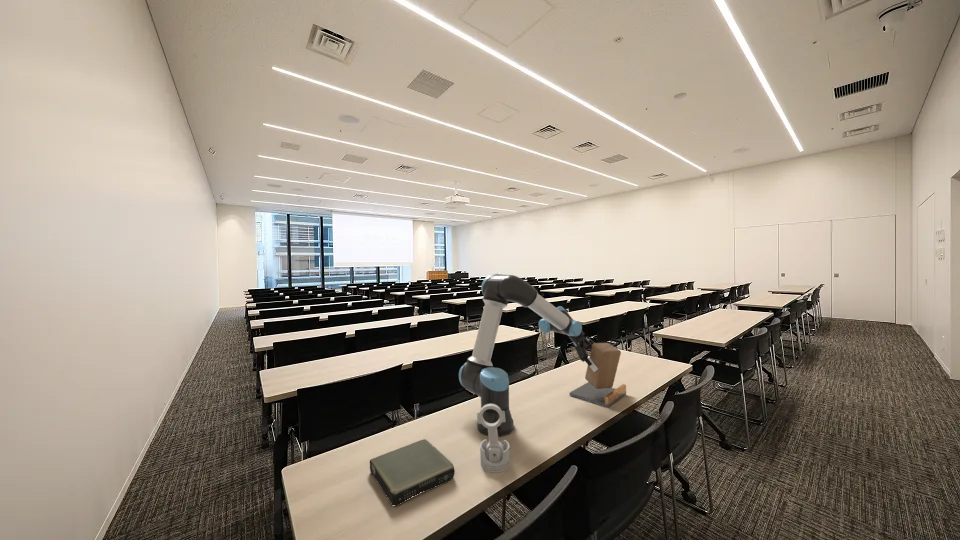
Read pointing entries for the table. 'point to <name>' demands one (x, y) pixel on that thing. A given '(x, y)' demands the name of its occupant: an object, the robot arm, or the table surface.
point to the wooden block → (603, 365)
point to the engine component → (493, 443)
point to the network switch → (411, 470)
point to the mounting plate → (599, 394)
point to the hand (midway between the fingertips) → (602, 367)
